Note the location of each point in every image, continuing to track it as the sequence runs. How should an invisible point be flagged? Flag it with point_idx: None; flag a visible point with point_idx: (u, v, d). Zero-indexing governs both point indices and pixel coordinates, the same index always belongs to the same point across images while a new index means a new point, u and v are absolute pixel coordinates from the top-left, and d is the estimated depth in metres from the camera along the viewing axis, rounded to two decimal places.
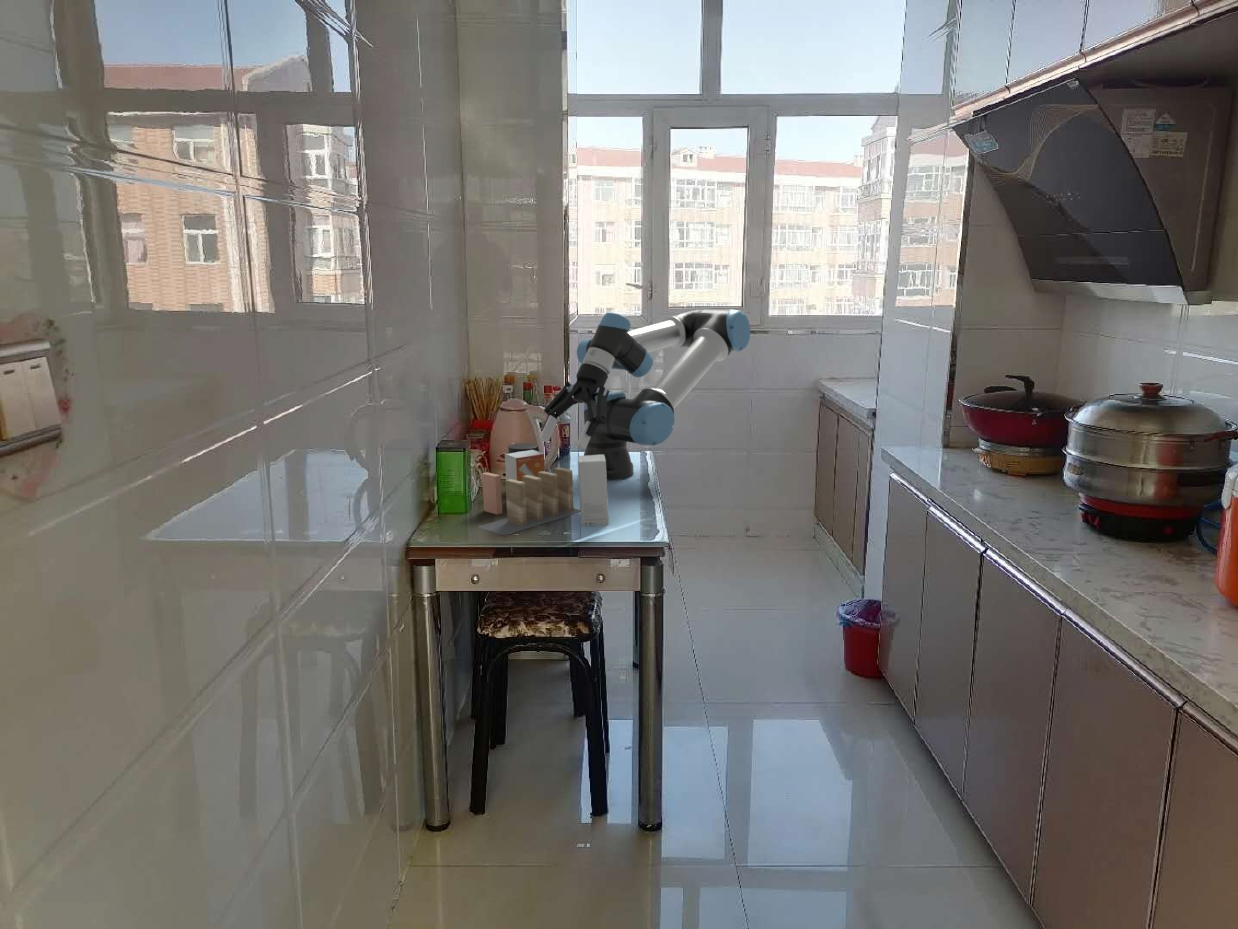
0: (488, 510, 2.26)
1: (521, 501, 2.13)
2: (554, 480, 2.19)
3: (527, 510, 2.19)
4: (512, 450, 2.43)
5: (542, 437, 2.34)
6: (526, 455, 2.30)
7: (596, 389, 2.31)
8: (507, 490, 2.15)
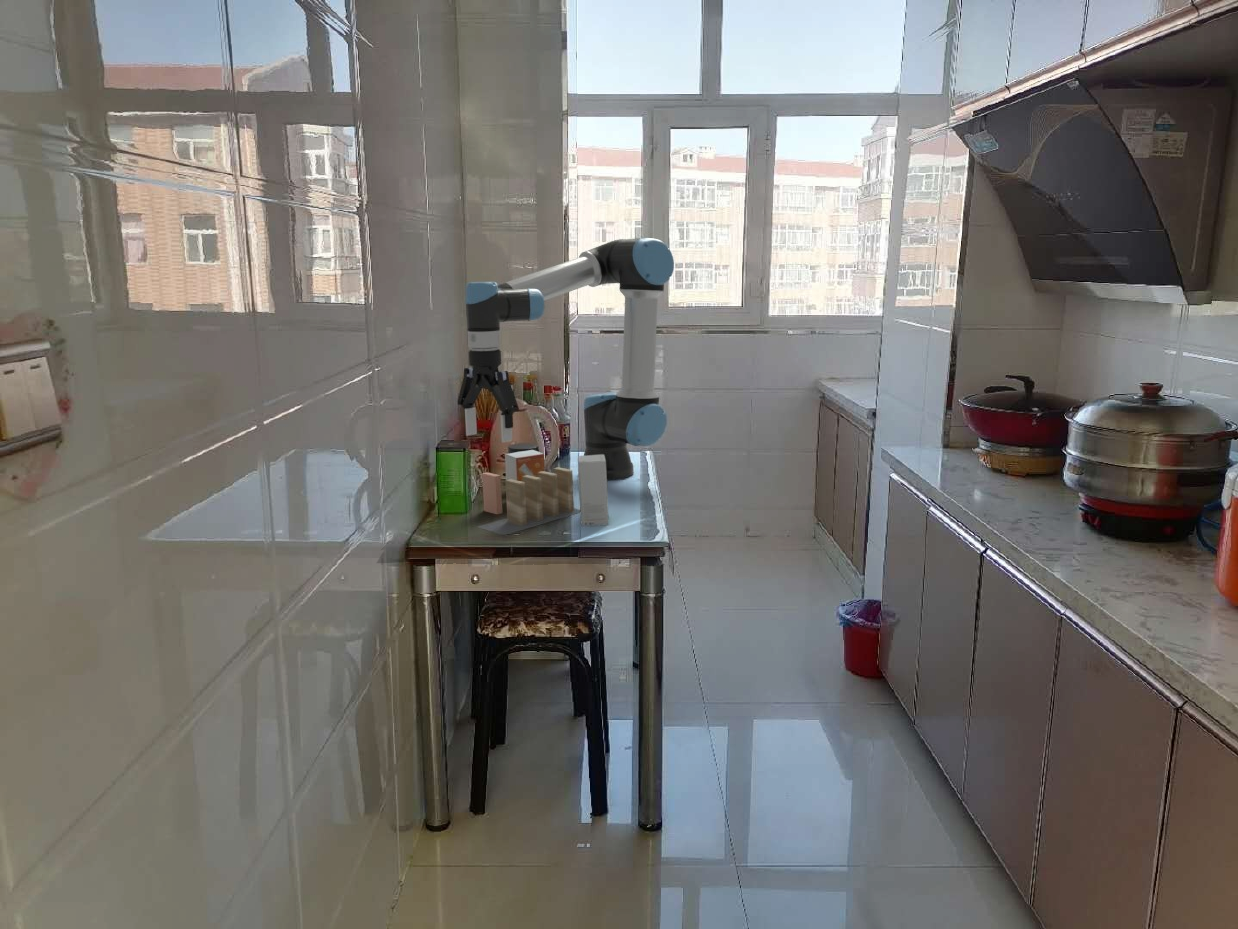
0: (488, 510, 2.26)
1: (521, 501, 2.13)
2: (554, 480, 2.19)
3: (527, 510, 2.19)
4: (512, 450, 2.43)
5: (468, 433, 2.25)
6: (526, 455, 2.30)
7: (494, 375, 2.15)
8: (507, 490, 2.15)
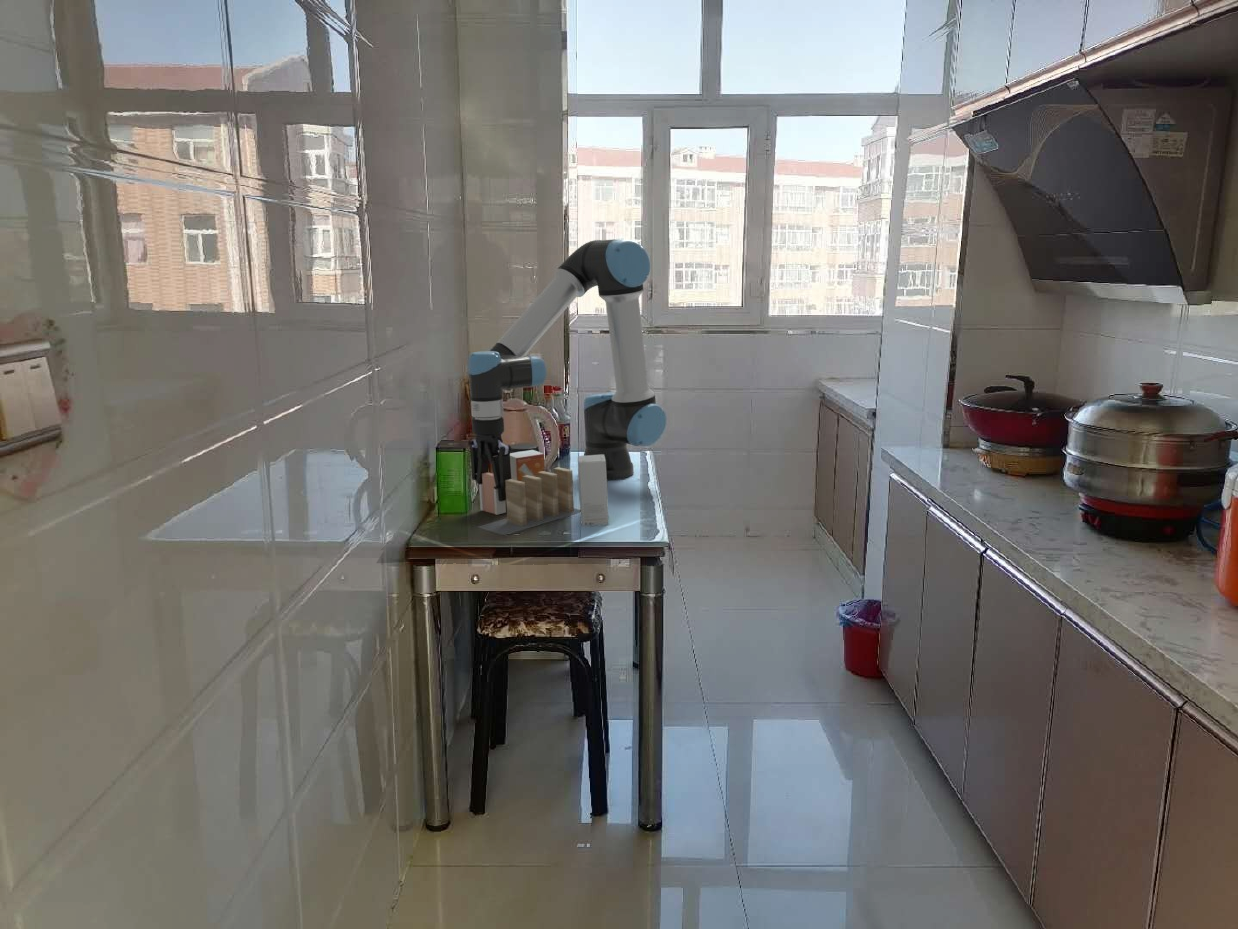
0: (488, 510, 2.26)
1: (521, 501, 2.13)
2: (554, 480, 2.19)
3: (527, 510, 2.19)
4: (512, 450, 2.43)
5: (483, 509, 2.27)
6: (526, 455, 2.30)
7: (497, 445, 2.19)
8: (507, 490, 2.15)
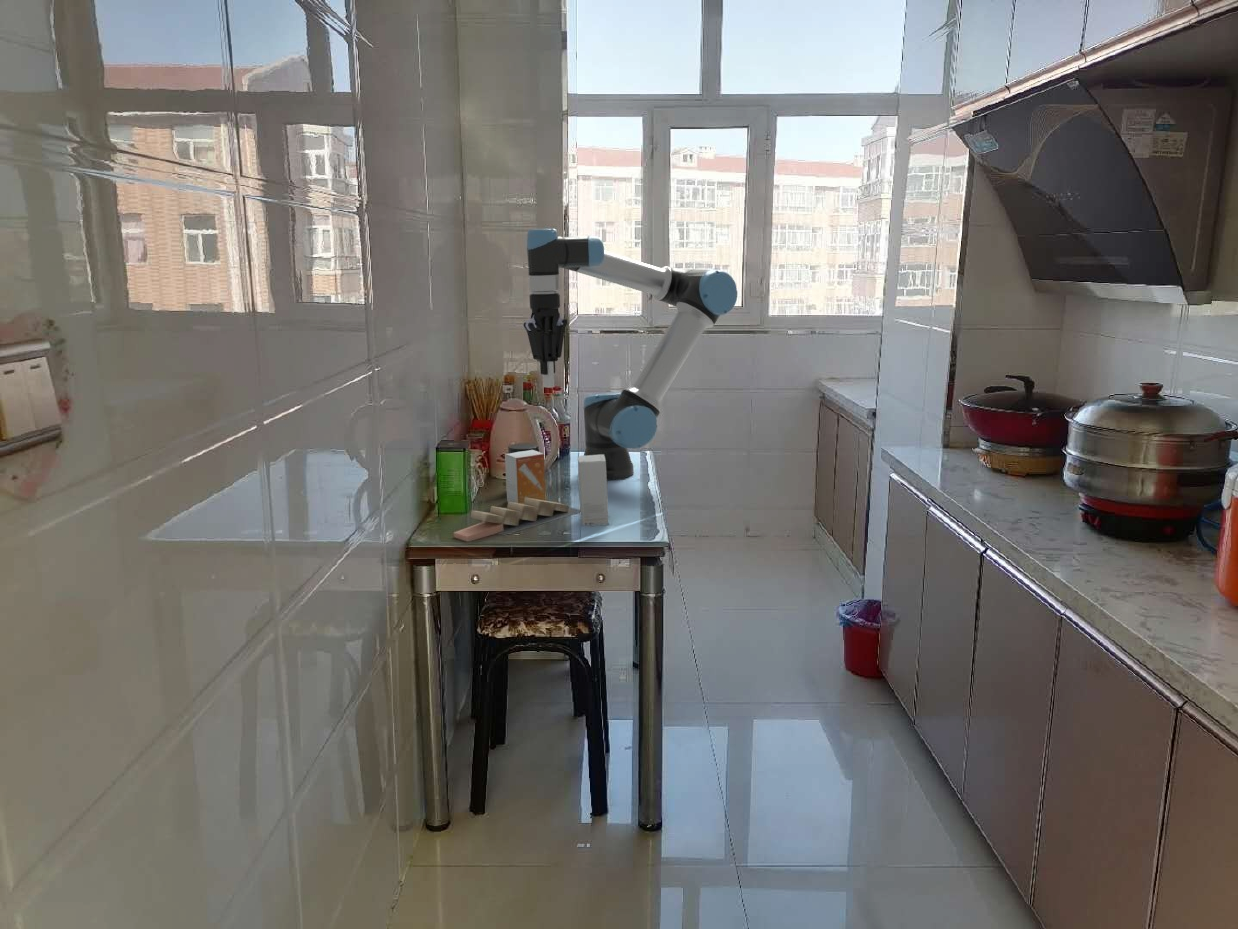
0: None
1: (499, 521, 2.09)
2: (525, 509, 2.14)
3: None
4: (512, 450, 2.43)
5: None
6: (526, 455, 2.30)
7: None
8: None
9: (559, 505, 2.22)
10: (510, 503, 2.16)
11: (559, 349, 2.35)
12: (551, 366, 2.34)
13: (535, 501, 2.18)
